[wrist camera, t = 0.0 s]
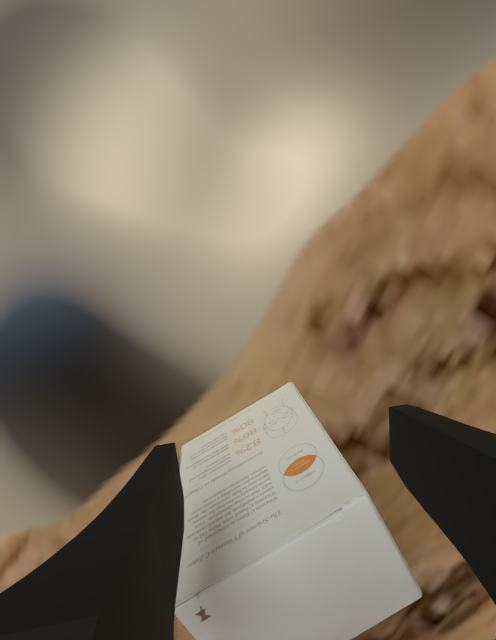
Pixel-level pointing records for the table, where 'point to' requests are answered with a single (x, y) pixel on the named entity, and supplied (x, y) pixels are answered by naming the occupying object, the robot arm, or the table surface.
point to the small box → (282, 533)
